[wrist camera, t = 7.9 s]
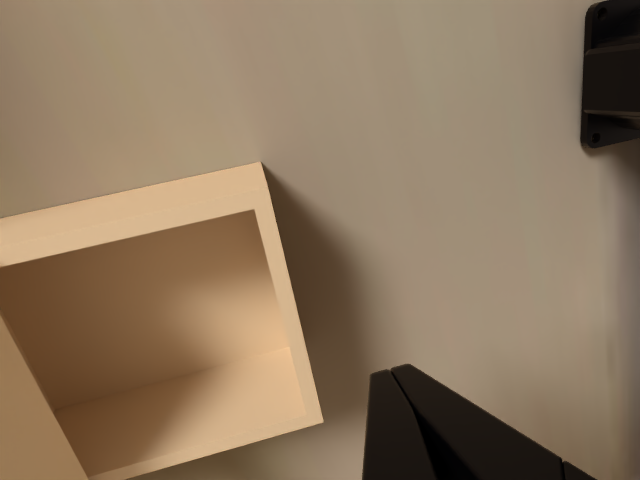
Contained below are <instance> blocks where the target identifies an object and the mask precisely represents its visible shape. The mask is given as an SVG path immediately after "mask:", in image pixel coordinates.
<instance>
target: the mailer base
mask: <svg viewBox="0 0 640 480" xmlns="http://www.w3.org/2000/svg"><path fill="white" fill-rule="evenodd" d="M0 316H1V318H2V319H3V321H4V323H5V325H6V327H7V329H8V331H9V332H10V334H11V336H12V338H13V340H14V342H15V344H16V346H17V347H18V349H19V351H20V353H21V355H22V357H23V359H24V360H25V362H26V364H27V366H28V368H29V370H30V372H31V373H32V375H33V377H34V379H35V381H36V383H37V385H38V386H39V388H40V390H41V392H42V394H43V396H44V398H45V399H46V401H47V403H48V405H49V407H50V409H51V411H52V412H53V414H54V416H55V418H56V420H57V422H58V424H59V425H60V427H61V429H62V431H63V433H64V435H65V437H66V439H67V440H68V442H69V444H70V446H71V448H72V450H73V452H74V453H75V455H76V457H77V459H78V461H79V463H80V465H81V466H82V468H83V470H84V472H85V474H86V476H87V478H88V479H89V480H125V479H128V478H132V477H135V476H138V475H142V474H145V473H149V472H152V471H156V470H159V469H163V468H166V467H170V466H173V465H177V464H180V463H184V462H187V461H191V460H194V459H198V458H201V457H205V456H208V455H212V454H215V453H219V452H222V451H225V450H229V449H232V448H236V447H239V446H243V445H246V444H250V443H253V442H257V441H260V440H264V439H267V438H271V437H274V436H278V435H281V434H285V433H288V432H292V431H295V430H299V429H302V428H305V427H309V426H312V425H316V424H319V423H323V422H324V421H323V417H322V413H321V409H320V404H319V400H318V396H317V392H316V388H315V383H314V379H313V375H312V371H311V366H310V362H309V358H308V354H307V350H306V345H305V341H304V337H303V333H302V329H301V324H300V320H299V316H298V312H297V307H296V303H295V299H294V295H293V291H292V286H291V282H290V278H289V274H288V269H287V265H286V261H285V257H284V253H283V248H282V244H281V240H280V236H279V231H278V227H277V223H276V219H275V215H274V210H273V206H272V202H271V198H270V194H269V189H268V185H267V182H266V179H265V175H264V172H263V168H262V165H261V162H257V163H253V164H248V165H243V166H239V167H234V168H230V169H225V170H220V171H216V172H211V173H207V174H202V175H197V176H193V177H188V178H184V179H179V180H175V181H170V182H165V183H161V184H156V185H152V186H147V187H142V188H138V189H133V190H129V191H124V192H119V193H115V194H110V195H106V196H101V197H96V198H92V199H87V200H83V201H78V202H73V203H69V204H64V205H60V206H55V207H51V208H46V209H41V210H37V211H32V212H28V213H23V214H18V215H14V216H9V217H5V218H0Z"/></svg>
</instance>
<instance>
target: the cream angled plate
mask: <svg viewBox="0 0 640 480" xmlns="http://www.w3.org/2000/svg"><path fill="white" fill-rule="evenodd" d="M0 480H89V479H88V478H87V476H86V474H85V472H84V470H83V468H82V466H81V465H80V463H79V461H78V459H77V457H76V455H75V453H74V452H73V450H72V448H71V446H70V444H69V442H68V440H67V439H66V437H65V435H64V433H63V431H62V429H61V427H60V425H59V424H58V422H57V420H56V418H55V416H54V414H53V412H52V411H51V409H50V407H49V405H48V403H47V401H46V399H45V398H44V396H43V394H42V392H41V390H40V388H39V386H38V385H37V383H36V381H35V379H34V377H33V375H32V373H31V372H30V370H29V368H28V366H27V364H26V362H25V360H24V359H23V357H22V355H21V353H20V351H19V349H18V347H17V346H16V344H15V342H14V340H13V338H12V336H11V334H10V332H9V331H8V329H7V327H6V325H5V323H4V321H3V319H2V318H1V316H0Z"/></svg>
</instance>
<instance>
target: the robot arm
mask: <svg viewBox="0 0 640 480" xmlns="http://www.w3.org/2000/svg"><path fill="white" fill-rule="evenodd" d="M598 11H600V14H601V15H600V18H599V19H598V16H597V14H598ZM593 134H594V139H593V140H592V141H591V138H592V135H593ZM636 138H640V0H607V1H603V2H599V3H595V4H593V5H591V6H590V7H589V9H588V11H587V12H586V17H585V41H584V65H583V90H582V115H581V144H582V145H583V146H584V147H588V148H598V147H602V146H606V145H611V144H615V143H619V142H623V141H628V140H632V139H636ZM362 480H597V479H595V478H593V477H592V476H590V475H588V474H587V473H585V472H583V471H582V470H580V469H579V468H577V467H575V466H574V465H572V464H571V463H569V462H567V461H564V462H562V459H561V458H560V457H559V456H557V455H556V454H554V453H553V452H551V451H549V450H548V449H546V448H544V447H543V446H541V445H540V444H538V443H536V442H535V441H533V440H532V439H530V438H528V437H527V436H525V435H524V434H522V433H520V432H519V431H517V430H516V429H514V428H512V427H511V426H509V425H507V424H506V423H504V422H503V421H501V420H499V419H498V418H496V417H495V416H493V415H491V414H490V413H488V412H487V411H485V410H483V409H482V408H480V407H479V406H477V405H475V404H474V403H472V402H470V401H469V400H467V399H466V398H464V397H462V396H461V395H459V394H458V393H456V392H454V391H453V390H451V389H450V388H448V387H446V386H445V385H443V384H442V383H440V382H438V381H437V380H435V379H433V378H432V377H430V376H429V375H427V374H425V373H424V372H422V371H421V370H419V369H417V368H416V367H414V366H413V365H411V364H404V365H400V366H396V367H393V368H391V370H387V369H385V370H382V371H378V372H374V373H372V374H371V375H370V379H369V393H368V406H367V419H366V433H365V446H364V459H363V473H362Z"/></svg>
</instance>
